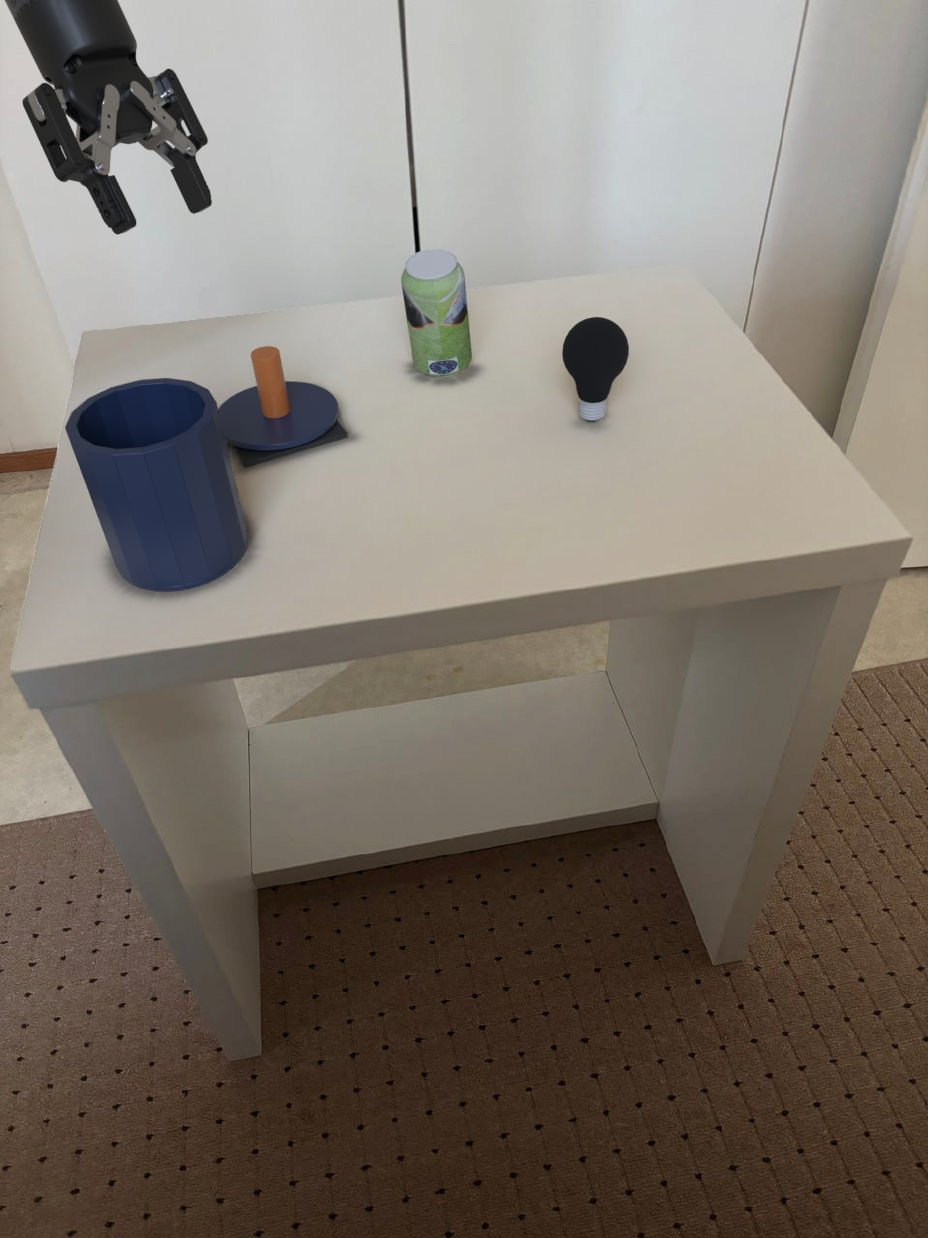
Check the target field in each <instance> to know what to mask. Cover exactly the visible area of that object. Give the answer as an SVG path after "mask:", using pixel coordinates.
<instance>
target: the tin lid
mask: <svg viewBox="0 0 928 1238" xmlns="http://www.w3.org/2000/svg"><path fill="white" fill-rule="evenodd" d="M250 359H251V364H252V370H253V374H254V378H255V383H256V385H255V386H250V387H249V388H246V389H244V390H241V391H238V392H237V393H235V394H233V395H232V396H230V397H229V398H227V399H226V400H225V401H224V402H222V403H221V405H220V406H219V407H218V411H219V415H220V419H221V423H222V427H223V431H224V436H225V440H226V443H228V444H230V445H231V444H232V445H234V446H237V447H241V448H245V449H251V450H279V449H285V448H291V447H295V446H298V445H301V444H304V443H307V442H309V441H312V440H314V439H316V438H318V437H319V436H321V435H323V434H324V433H325V432H327V431H328V430H329V429H330V428H331V427H332V426H333V425H334V423H335V422H336V420H337V421H338V417H339V414H340V413H339V412H340V409H339V403H338V399H337V398H336V397H335V395H334V394H333V393H332V392H330V391H329V390H328V389H326V388H325V387H323V386H320V385H318V384H314V383H310V382H304V381H294V380H293V381H291V380H290V381H289V380H286V379H285V374H284V369H283V368H284V367H283V363H282V357H281V352H280V349H279V348H278V347H276V346H271V345H267V346H264V345H263V346H259V347H257V348H255V349H253V350H251V352H250ZM232 445H231V446H232Z"/></svg>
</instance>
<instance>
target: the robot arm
mask: <svg viewBox="0 0 928 1238" xmlns="http://www.w3.org/2000/svg"><path fill="white" fill-rule="evenodd" d="M4 2H5V4H6V7H7V8H8V10H9V12H10V14H11V16H12V19H13V20H14V23H15V25H16V26H17V28H18V30H19V32H20V34H21V37H22V38H23V41H24V43H25V44H26V47H27V48H28V51H29V53H30V55H31V57H32V59H33V61H34V63H35V66H36V67H37V70H38V72H39V73H40V75H41V77H42V78H43V80H44V81H45V82H41V84H39V85H38V86H37V87H36V88H34V90H32V91H30V92H29V93H28V94H27V95H26V96H25V97H24V98H22V101H21V102H22V107H23V109H24V111H25V113H26V115H27V117H28V120H29V122H30V124H31V126H32V129H33V131H34V133H35V135H36V137H37V140H38V141H39V143H40V146H41V148H42V151H43V153H44V155H45V157H46V159H47V161H48V163H49V166H50V168H51V170H52V172H53V175H54V176H55V178H56V179H57V180H58V181H59V182H60V183H61V182H62V183H67V182H69V181H71V182H72V181H73V182H77V183H80V185H81V186H83V187H85V188H86V190H87V191H88V193H89V195H90V196H91V198H92V200H93V201H92V202H93V203H94V204H95V206H96V208H97V210H98V213H99V214H100V217H101V219H102V221H103V222H104V224H105V225H106V226H107V227H108V228H109V229H111V231H112V232H113V233H114V234H115V235H121V234H125V233H127V232H129V231H130V230H132V229H134V228H135V227H136V226H137V217H135V214H134V212H133V210H132V209H131V206H130V204H129V202H128V200H127V198H126V196H125V194H124V191H123V189H122V188H121V186H120V183H119V181H118V180H117V177H116V175H115V174H113V175H109V174H110V171H111V156H112V150H113V149H114V147H117V146H118V145H119V144H125V145H133V144H136V143H138V144H139V145H141V146H142V147H143V148H144V149H145V150H147V151H152V152H155V153H156V154H157V155H158V156H159V157H160V158H161V159H163V160H164V161H165V163H167V164H168V165H169V166H171V169H170V170H169V171H170V173H171V175H172V177H173V179H174V182H175V183H176V186H177V188H178V190H179V192H180V194H181V197H182V199H183V200H184V203H185V205H186V207H187V210H188V211H189V212H190V214H193V215H195V214H199V213H201V212H204V211H205V210H207V209H208V208H210V207H211V206H212V205H213V200H212V193H211V190H210V187H209V185H208V184H207V181H206V179H205V177H204V175H203V172H202V170H201V168H200V166H199V164H198V161H197V157H196V156H197V153H198V152H199V151H200V150H201V149H202V148H203V147H204V146H206V145H208V142H209V140H208V139H209V138H208V136H207V134H206V132H205V129H204V128H203V126H202V124H201V121H200V119H199V117H198V116H197V113H196V112H195V110H194V107H193V105H192V103H191V101H190V99H189V97H188V96H187V93H186V92H185V89H184V87H183V85H182V84H181V81H180V78H179V77H178V75H177V73H176V72H175V71H174V70H173V69H171V68H166V69H165V70H164V71H162V72H160V73H159V74H158V75H153V76H149V77H148V76H147V75H146V73H144V71H143V70H142V68H141V67H140V65H139V63H138V61H137V50H138V42H137V39H136V37H135V35H134V33H133V30H132V28H131V26H130V23H129V22H128V20H127V18H126V16H125V12H124V11H123V8H122V7H121V4H120V2H119V0H4ZM68 118H70V119H71V120H72V121H73V122H74V123H75V124H76V130H75V131H76V132H74V130H73V128H72V126H71V124H70V121H69V120H68ZM182 122H183V123H184V125H185V127H186V129H187V131H188V133H189V135H187V132H186V131H185V129H184V127H183V125H182ZM153 123H154V124H156V125H157V126H155V127H154V128H153ZM168 142H169V143H170V144H169V143H168ZM171 145H172V146H171Z"/></svg>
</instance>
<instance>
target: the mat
mask: <svg viewBox="0 0 928 1238" xmlns="http://www.w3.org/2000/svg"><path fill="white" fill-rule="evenodd" d="M347 438H348V432H347V431H346V430H345V429H344V427H343V426H342V425H341V423H340V422H339V421H338V419H337V420H336V422H335V423H334V425H333V426H332V427H331V428H330V429H329V430H328V431H327V432H325V433H324V434H323V435H321V436H319V437H318V438H316V439H314V440H312V441H309V442H307V443H304V444H301V445H298V446H295V447H291V448H285V449H279V450H251V449H245V448H241V447H237V446H234V445H232V444H230V445H231V448H232V449H233V450H234V453H235V454H236V455H237V457H238V459H239V460H240V462H241V464H242V465H243V467H244V468H248V467H251V466H255V465H257V464H261V463H262V464H263V463H265V462H268V461H272V460H275V459H278V458H282V457H285V456H289V455H292V454H296V453H299V452H303V451H306V450H309V449H313V448H316V447H319V446H324V445H327V444H330V443H333V442H337V441H340V440H344V439H347Z"/></svg>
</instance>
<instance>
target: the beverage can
mask: <svg viewBox="0 0 928 1238" xmlns="http://www.w3.org/2000/svg"><path fill="white" fill-rule="evenodd" d="M400 283H401V284H400V285H401V290H402V296H403V303H404V310H405V316H406V317H405V318H406V322H407V331H408V337H409V343H410V348H411V350H410V351H411V357H412V364H413V366H414V367H415V369H416V370H418V372H419V373H421V374H423V375H426V376H429V377H431V378H437V379H444V378H451V377H453V376H456V375H457V374H459V373H460V372H462V371H464V370H465V369H466V368H467V367H468V366H469V365H470V364H471V361H472V358H473V351H472V343H471V331H470V320H469V319H470V318H469V310H468V299H467V288H466V287H467V286H466V275H465V271H464V267H463V266H462V265H461V264H460V262H458V258H457V257H456V255H455V254H454V253H452V252H451V251H449V250H446V249H441V248H428V249H424V250H420V251H417V252H416V253H414V254H412V255H410V256H409V257H408V259H407V260H406V261H405V265H404V269H403V270H402V273H401V276H400Z"/></svg>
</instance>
